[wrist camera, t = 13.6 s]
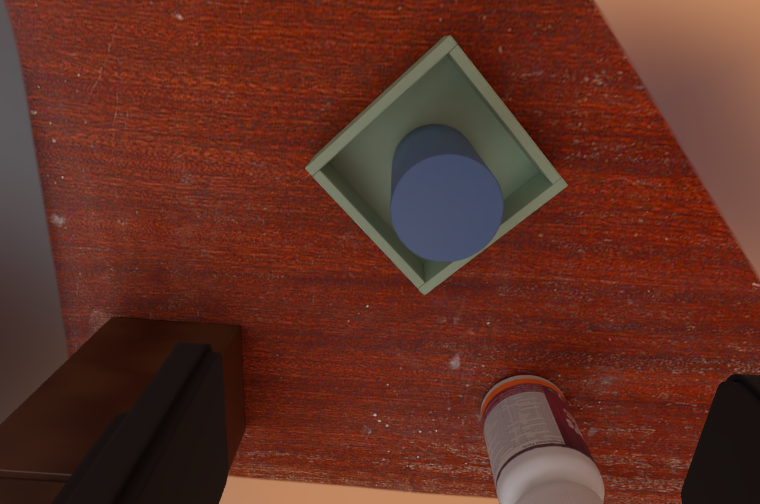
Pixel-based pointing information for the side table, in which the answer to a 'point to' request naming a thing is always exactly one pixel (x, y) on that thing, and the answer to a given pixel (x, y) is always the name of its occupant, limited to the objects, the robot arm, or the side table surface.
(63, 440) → the stand
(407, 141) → the vial
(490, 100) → the bin
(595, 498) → the pill bottle
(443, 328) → the side table surface
